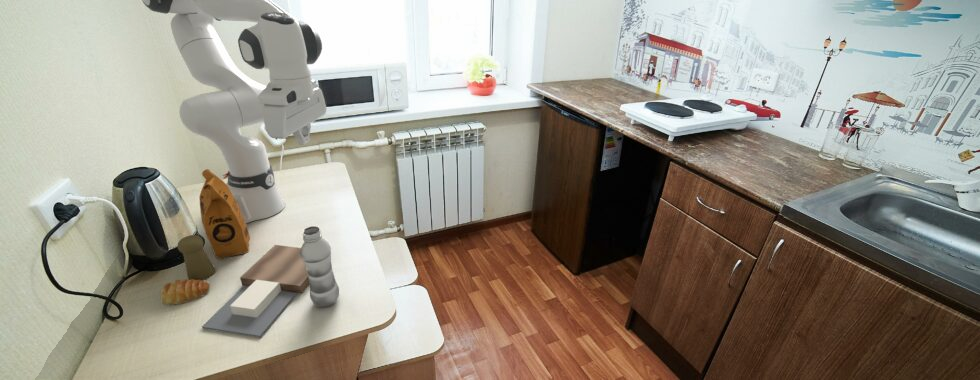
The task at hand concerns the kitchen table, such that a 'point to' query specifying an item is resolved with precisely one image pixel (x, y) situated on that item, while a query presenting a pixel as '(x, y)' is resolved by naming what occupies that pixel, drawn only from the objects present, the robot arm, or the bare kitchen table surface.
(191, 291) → the pastry
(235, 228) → the coffee package
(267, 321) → the mat
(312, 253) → the plastic bottle
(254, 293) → the tile
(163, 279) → the kitchen table surface
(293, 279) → the stand
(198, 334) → the kitchen table surface
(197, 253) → the cork
